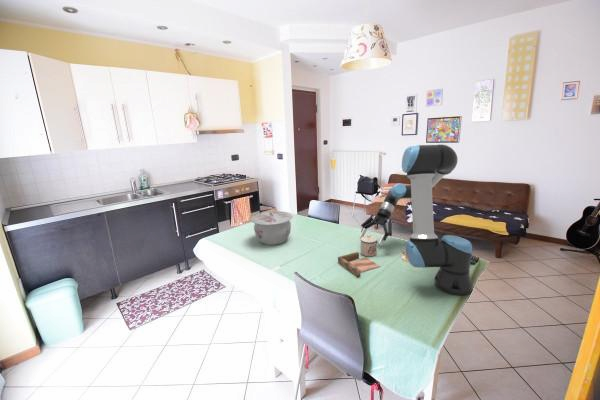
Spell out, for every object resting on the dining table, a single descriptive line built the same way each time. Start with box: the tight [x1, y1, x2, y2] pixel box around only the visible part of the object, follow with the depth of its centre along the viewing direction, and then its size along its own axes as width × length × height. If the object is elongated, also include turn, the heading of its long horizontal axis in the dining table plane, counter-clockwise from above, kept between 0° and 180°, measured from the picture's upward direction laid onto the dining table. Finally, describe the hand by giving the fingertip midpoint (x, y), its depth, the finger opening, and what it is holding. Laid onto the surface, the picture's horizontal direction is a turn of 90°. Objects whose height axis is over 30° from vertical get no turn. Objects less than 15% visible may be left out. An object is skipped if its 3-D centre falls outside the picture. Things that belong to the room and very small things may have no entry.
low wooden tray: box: [337, 251, 381, 278], centre depth 149 cm, size 18×17×4 cm
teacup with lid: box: [360, 234, 378, 258], centre depth 162 cm, size 12×9×12 cm
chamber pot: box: [250, 210, 293, 246], centre depth 185 cm, size 28×28×21 cm
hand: (369, 241), depth 163 cm, fingers open, 13 cm apart
